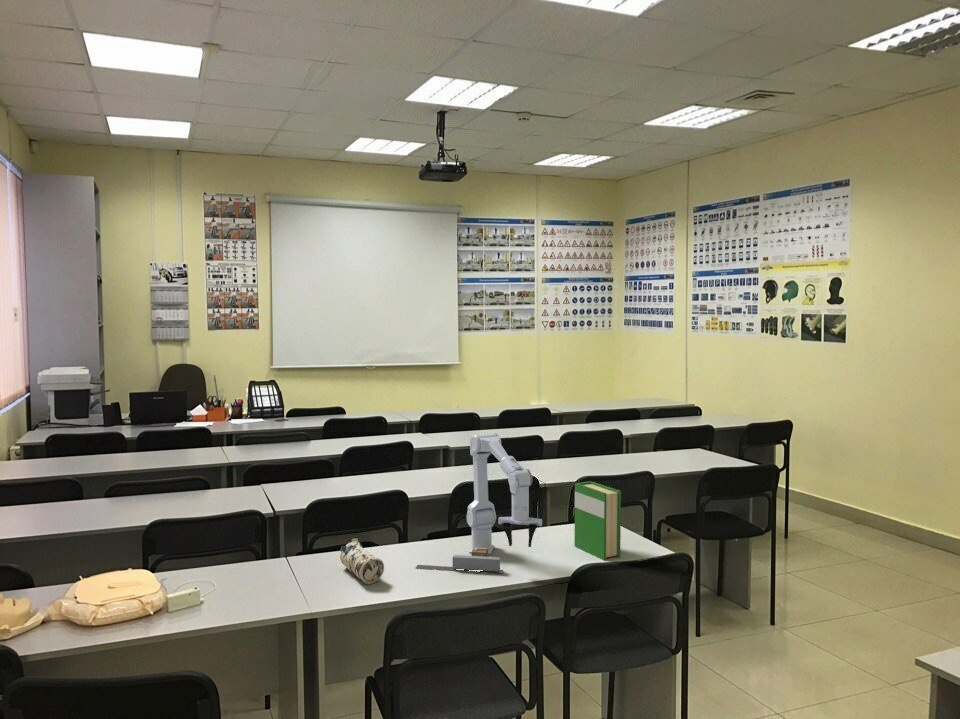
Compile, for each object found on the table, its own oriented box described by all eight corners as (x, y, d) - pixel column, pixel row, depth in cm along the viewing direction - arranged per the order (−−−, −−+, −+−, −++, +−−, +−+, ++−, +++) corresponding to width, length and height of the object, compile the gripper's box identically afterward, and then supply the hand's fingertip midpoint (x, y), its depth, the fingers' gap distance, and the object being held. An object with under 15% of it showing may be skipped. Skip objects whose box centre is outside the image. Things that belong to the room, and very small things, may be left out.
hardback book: (620, 557, 258) (620, 491, 257) (603, 560, 255) (604, 493, 254) (590, 543, 274) (590, 481, 273) (574, 546, 270) (574, 483, 269)
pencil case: (338, 568, 248) (338, 540, 248) (362, 563, 252) (361, 536, 252) (361, 588, 229) (361, 558, 229) (386, 583, 234) (386, 554, 233)
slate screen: (454, 566, 248) (454, 554, 247) (500, 568, 245) (500, 557, 244) (452, 568, 245) (452, 557, 245) (499, 571, 242) (499, 559, 242)
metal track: (417, 565, 250) (417, 564, 250) (503, 570, 245) (503, 569, 245) (415, 568, 247) (415, 567, 247) (501, 573, 242) (501, 573, 242)
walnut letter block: (474, 561, 255) (474, 546, 254) (488, 561, 254) (488, 547, 254) (471, 566, 250) (471, 551, 249) (485, 567, 249) (485, 552, 248)
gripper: (496, 507, 238) (497, 548, 239) (540, 509, 236) (540, 550, 237) (500, 502, 245) (500, 541, 246) (542, 504, 243) (542, 544, 243)
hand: (520, 545), depth 242 cm, fingers open, 6 cm apart
